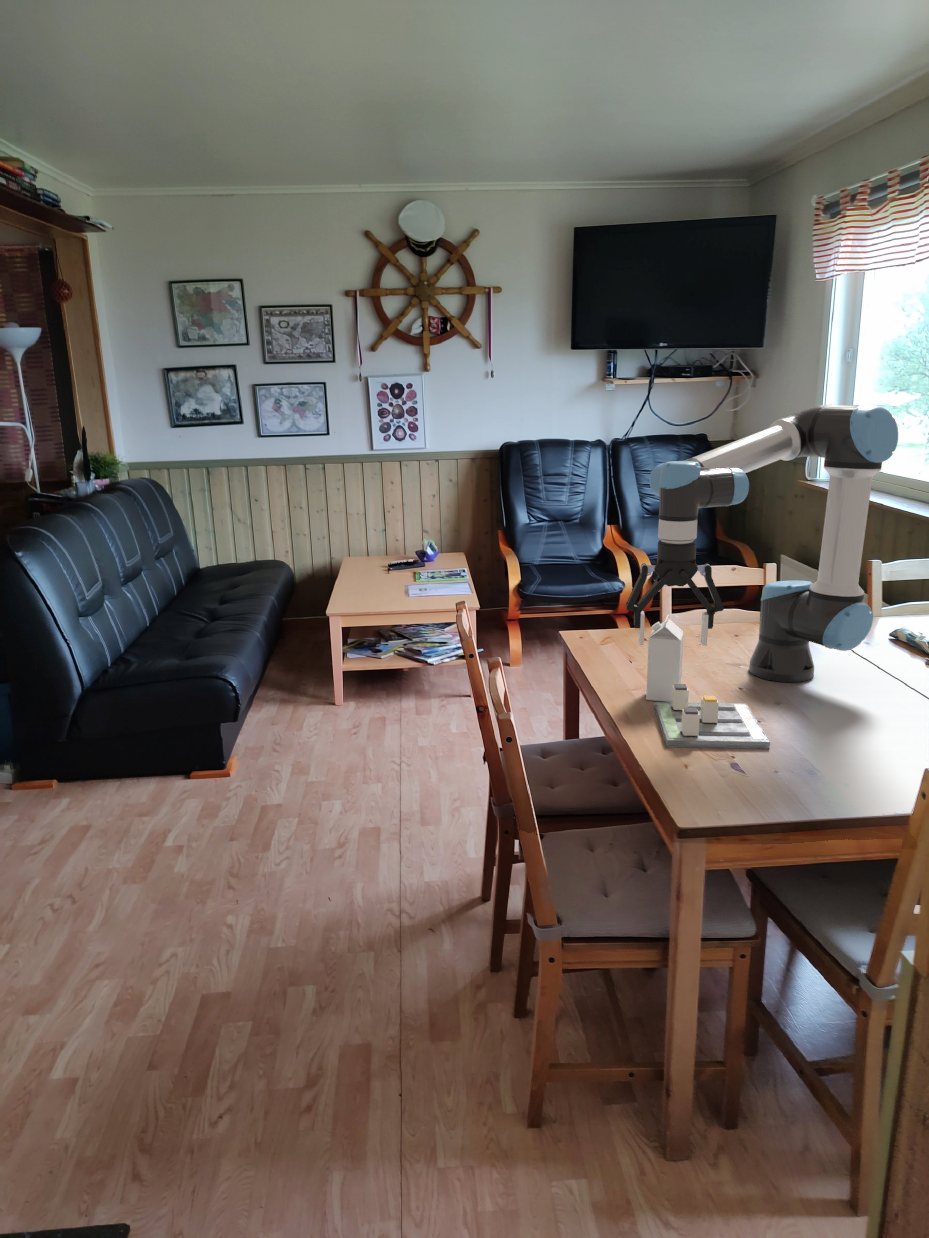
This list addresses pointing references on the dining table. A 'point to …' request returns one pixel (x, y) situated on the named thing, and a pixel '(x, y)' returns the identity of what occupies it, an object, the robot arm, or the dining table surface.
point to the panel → (713, 728)
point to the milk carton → (664, 660)
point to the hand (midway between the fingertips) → (672, 643)
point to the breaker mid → (709, 709)
